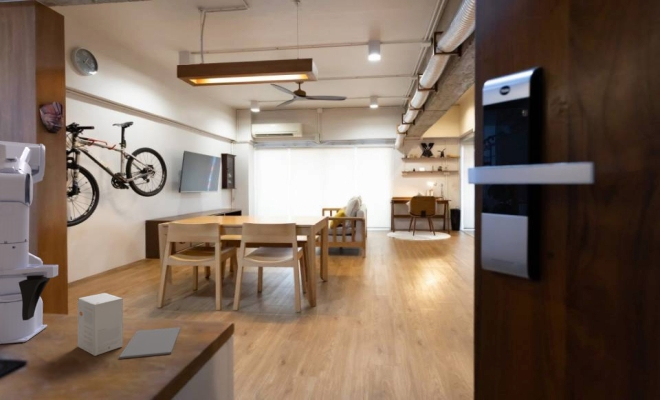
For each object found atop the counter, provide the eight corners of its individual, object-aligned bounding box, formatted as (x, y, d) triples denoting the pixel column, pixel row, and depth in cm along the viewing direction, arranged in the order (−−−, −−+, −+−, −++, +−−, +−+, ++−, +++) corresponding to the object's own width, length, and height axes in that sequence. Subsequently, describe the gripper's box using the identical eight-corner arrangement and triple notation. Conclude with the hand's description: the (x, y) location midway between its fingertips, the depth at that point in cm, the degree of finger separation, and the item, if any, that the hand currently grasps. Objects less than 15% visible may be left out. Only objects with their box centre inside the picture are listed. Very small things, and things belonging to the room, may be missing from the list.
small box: (123, 347, 74) (124, 298, 74) (94, 356, 70) (94, 304, 70) (105, 338, 79) (106, 292, 79) (76, 346, 74) (77, 297, 74)
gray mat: (137, 332, 82) (137, 330, 82) (180, 328, 85) (180, 327, 85) (119, 358, 69) (119, 356, 69) (171, 353, 72) (171, 351, 72)
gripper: (-65, 245, 55) (-66, 332, 55) (44, 244, 59) (43, 324, 59) (-33, 240, 61) (-34, 317, 61) (64, 239, 65) (62, 311, 65)
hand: (6, 319), depth 61 cm, fingers open, 6 cm apart
